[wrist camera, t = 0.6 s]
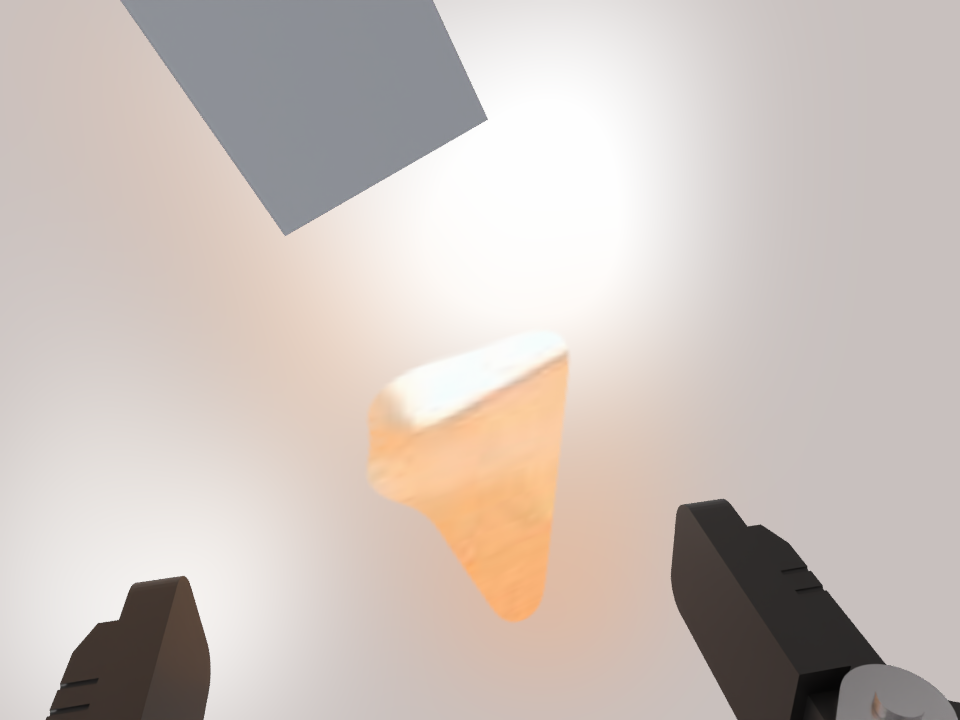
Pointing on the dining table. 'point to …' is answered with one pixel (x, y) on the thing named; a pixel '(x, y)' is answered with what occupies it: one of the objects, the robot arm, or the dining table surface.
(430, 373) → the dining table surface
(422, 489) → the dining table surface
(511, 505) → the dining table surface
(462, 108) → the gray mat
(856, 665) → the robot arm
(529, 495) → the dining table surface
